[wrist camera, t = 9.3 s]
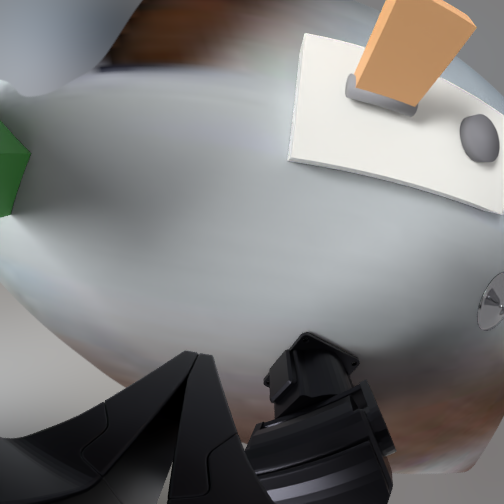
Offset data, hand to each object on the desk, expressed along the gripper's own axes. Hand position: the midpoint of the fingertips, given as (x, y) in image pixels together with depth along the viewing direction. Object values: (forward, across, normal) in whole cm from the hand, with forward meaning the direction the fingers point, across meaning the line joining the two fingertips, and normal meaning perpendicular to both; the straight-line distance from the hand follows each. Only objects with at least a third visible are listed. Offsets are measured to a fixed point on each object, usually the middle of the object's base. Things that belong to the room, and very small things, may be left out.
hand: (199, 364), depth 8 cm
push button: (+10, -17, -12) cm, 23 cm away
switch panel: (+13, -12, -12) cm, 21 cm away
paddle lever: (+9, -8, -12) cm, 17 cm away
